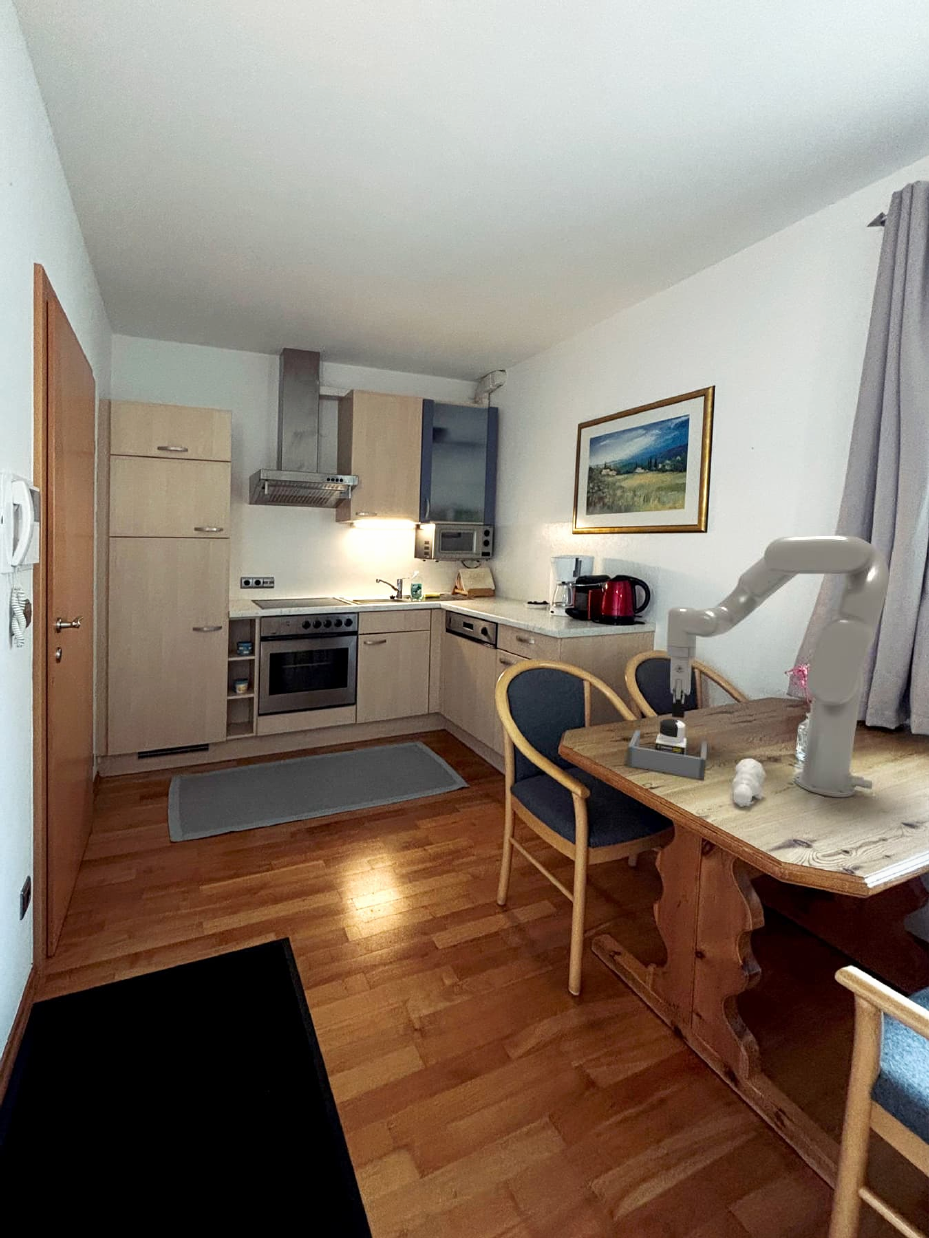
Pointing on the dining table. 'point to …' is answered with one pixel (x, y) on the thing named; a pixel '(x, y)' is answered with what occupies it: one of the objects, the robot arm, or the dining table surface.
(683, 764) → the box
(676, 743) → the medicine bottle
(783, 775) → the dining table surface
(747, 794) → the white animal figurine
